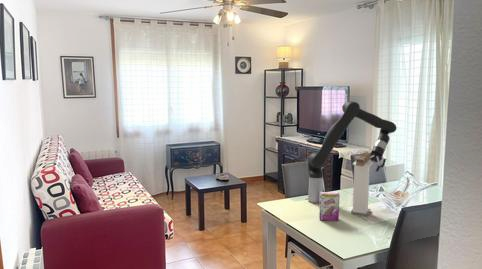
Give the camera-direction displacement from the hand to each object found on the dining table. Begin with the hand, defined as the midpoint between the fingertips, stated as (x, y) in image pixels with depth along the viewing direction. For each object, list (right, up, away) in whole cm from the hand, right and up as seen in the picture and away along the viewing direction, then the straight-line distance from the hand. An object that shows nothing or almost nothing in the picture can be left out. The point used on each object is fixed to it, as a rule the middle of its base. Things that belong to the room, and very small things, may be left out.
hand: (369, 168), depth 242 cm
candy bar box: (-33, -28, -25) cm, 50 cm away
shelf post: (-11, -26, -14) cm, 31 cm away
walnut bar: (-10, +6, -16) cm, 20 cm away
